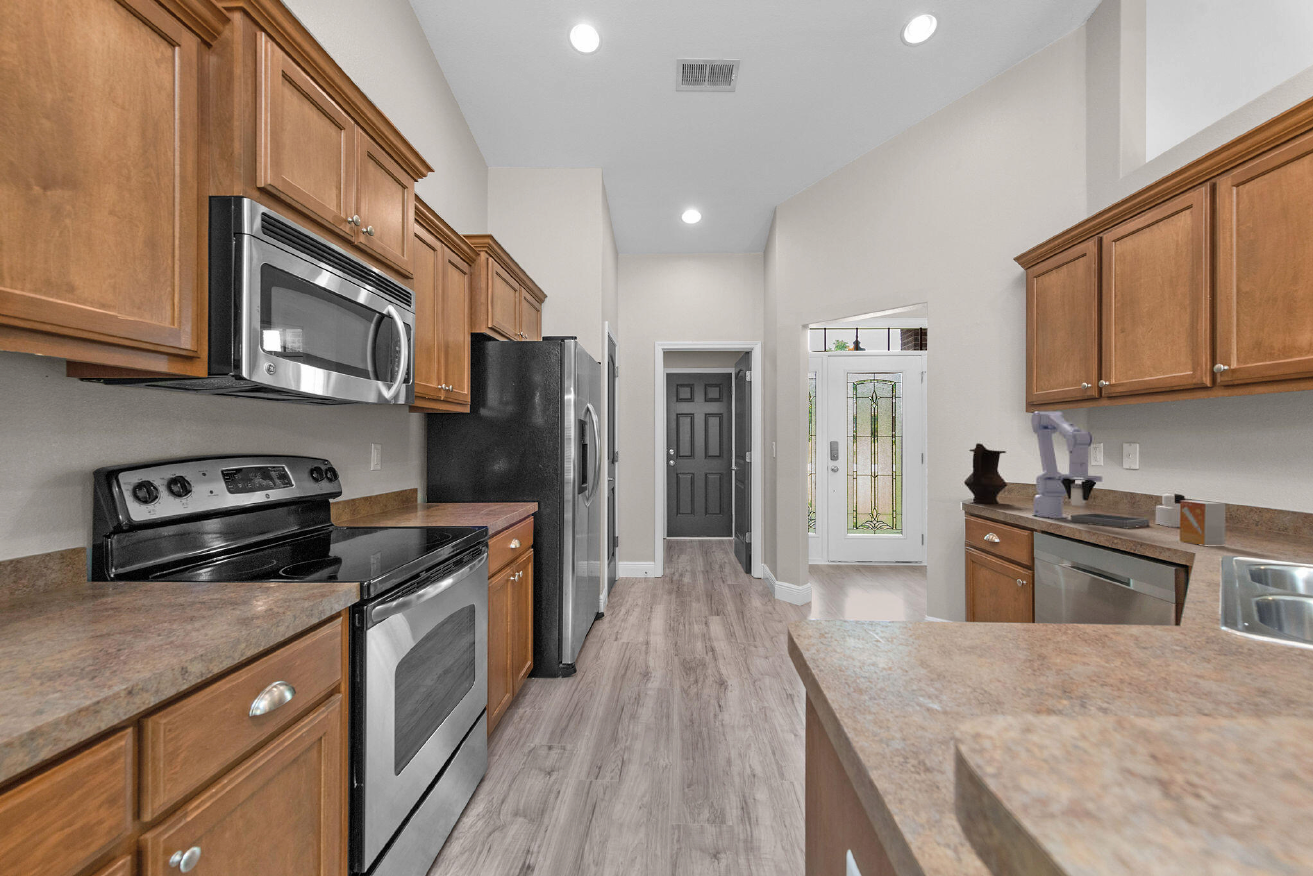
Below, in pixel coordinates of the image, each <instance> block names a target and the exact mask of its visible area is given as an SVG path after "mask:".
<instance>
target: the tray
mask: <svg viewBox="0 0 1313 876" xmlns="http://www.w3.org/2000/svg"><path fill="white" fill-rule="evenodd" d="M1071 521H1072V523H1073V522H1074V523H1079V522H1085V523H1084V524H1087V523H1091V524H1090V525H1094V524H1101V525H1100V526H1102V525H1106V526H1105V527H1110V526H1115V527H1114V528H1118V527H1126V528H1127V527H1136V526H1144V527H1147V526H1146V525H1149V526H1150V518H1143V517H1142V518H1141V517H1131V516H1124V515H1114V514H1106V513H1097V512H1091V513H1079V514H1071V515H1070V522H1071ZM1126 528H1125V529H1126ZM1136 528H1137V527H1136Z"/></svg>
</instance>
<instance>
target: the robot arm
mask: <svg viewBox="0 0 1313 876" xmlns="http://www.w3.org/2000/svg"><path fill="white" fill-rule="evenodd" d="M1031 415H1032V416H1031V419H1030V421H1031V429H1032V431H1033V432H1032V433H1034V434H1036V437H1037V444H1038V451H1039V455H1040V457H1039V458H1040V462H1041V467H1042V469H1041V470H1042V473H1040V474H1039V475H1037V476H1036V478H1035V479H1036V480H1035V481H1036V484H1035V488H1036V489H1035V490H1036V492H1037V493H1038V494H1036V495H1035V496H1034V497H1033V514H1032V516H1033V515H1037V516H1036V517H1039V518H1040V517H1041V518H1048V517H1049V519H1067V517H1068V515H1067V516H1065V515H1064V514H1063V513H1064V512H1063V510H1064V497H1065V496H1066V494H1067V499H1068V500H1071V483H1076V481H1081V483H1080V484H1082V487H1083V500H1086V501H1089V499H1090V495H1091V492H1092V491H1093V489H1094V488H1095V486H1096V485H1097V483H1100V482H1103V476H1101V475H1090V474H1089V447H1091V445H1092V444H1093V436H1092V434H1091V432H1090V431H1088V430H1085V431H1083V430H1081V429H1080V428H1079V427H1078V426H1077V425H1075V423H1074V422H1067V421H1066V420H1065V418H1064V417H1065V416H1064V413H1063V412H1062V411H1060V410H1057V411H1034V412H1033V413H1032V414H1031ZM1057 432H1058V434H1059V435H1061V437H1063V438H1064V439H1065V443H1066V447H1067V452H1068V454H1069V455H1068V463H1069V464H1068V474H1066V473H1061V472H1059V470H1058V465H1057V460H1056V459H1057V458H1056V453H1055V448H1054V443H1053V437H1052V436H1053V435H1054V434H1056V433H1057Z"/></svg>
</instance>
